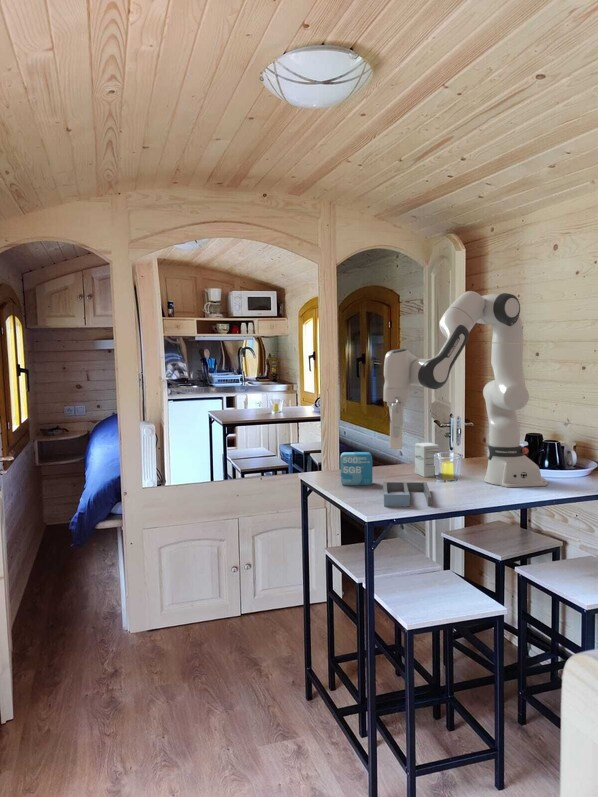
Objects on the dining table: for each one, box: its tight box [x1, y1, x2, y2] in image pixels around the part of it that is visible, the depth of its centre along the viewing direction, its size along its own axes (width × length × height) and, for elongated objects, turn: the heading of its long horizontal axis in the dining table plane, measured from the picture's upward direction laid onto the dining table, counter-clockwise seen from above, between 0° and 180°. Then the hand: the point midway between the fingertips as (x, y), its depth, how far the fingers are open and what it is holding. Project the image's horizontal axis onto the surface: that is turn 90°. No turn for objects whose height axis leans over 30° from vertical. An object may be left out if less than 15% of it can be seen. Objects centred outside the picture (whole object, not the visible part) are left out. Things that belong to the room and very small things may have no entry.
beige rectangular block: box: [389, 417, 403, 450], centre depth 209 cm, size 4×4×10 cm
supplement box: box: [414, 442, 440, 478], centre depth 245 cm, size 7×7×13 cm
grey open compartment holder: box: [382, 481, 433, 508], centre depth 211 cm, size 16×22×4 cm
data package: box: [339, 451, 373, 486], centre depth 232 cm, size 12×4×12 cm, turn 87°
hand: (395, 436), depth 209 cm, fingers closed on beige rectangular block, 4 cm apart
